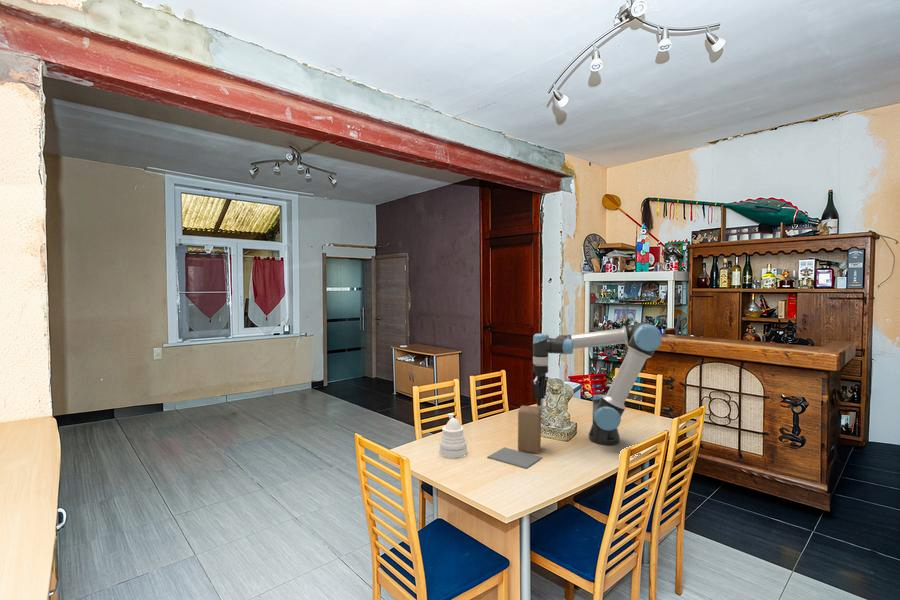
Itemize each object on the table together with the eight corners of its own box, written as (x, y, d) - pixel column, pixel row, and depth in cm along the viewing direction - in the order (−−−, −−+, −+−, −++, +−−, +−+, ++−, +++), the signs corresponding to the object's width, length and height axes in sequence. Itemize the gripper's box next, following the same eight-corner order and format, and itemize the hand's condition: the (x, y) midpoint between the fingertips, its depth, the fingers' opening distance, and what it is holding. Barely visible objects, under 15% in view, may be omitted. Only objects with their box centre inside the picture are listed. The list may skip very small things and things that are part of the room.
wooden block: (540, 446, 218) (541, 406, 217) (539, 454, 208) (539, 411, 208) (520, 444, 221) (520, 404, 220) (517, 452, 211) (517, 410, 210)
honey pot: (434, 452, 210) (434, 414, 210) (454, 446, 219) (454, 409, 218) (451, 460, 200) (451, 421, 200) (472, 453, 209) (472, 415, 208)
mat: (542, 458, 203) (542, 457, 203) (526, 468, 191) (526, 467, 191) (504, 448, 215) (504, 447, 215) (487, 457, 204) (487, 456, 204)
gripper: (539, 362, 229) (539, 407, 230) (527, 365, 219) (527, 413, 220) (553, 363, 225) (552, 410, 226) (541, 367, 215) (540, 415, 215)
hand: (540, 411), depth 223 cm, fingers closed
